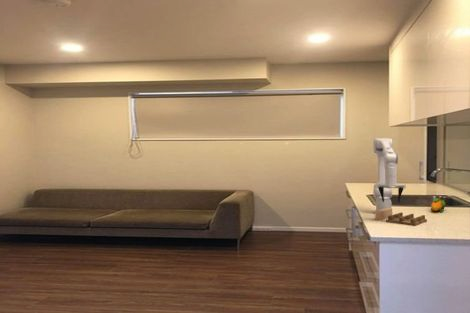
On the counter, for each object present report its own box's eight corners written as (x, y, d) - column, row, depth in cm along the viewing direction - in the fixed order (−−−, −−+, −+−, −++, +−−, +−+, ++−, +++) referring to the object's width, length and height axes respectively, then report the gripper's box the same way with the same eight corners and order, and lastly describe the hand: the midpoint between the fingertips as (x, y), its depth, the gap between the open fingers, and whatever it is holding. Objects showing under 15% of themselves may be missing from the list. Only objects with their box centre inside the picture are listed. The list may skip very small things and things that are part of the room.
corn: (446, 197, 266) (441, 201, 250) (446, 209, 267) (442, 214, 250) (432, 197, 270) (427, 201, 254) (433, 209, 271) (428, 214, 254)
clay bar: (386, 216, 245) (387, 207, 245) (392, 217, 243) (392, 208, 242) (375, 220, 235) (375, 211, 235) (380, 220, 233) (380, 211, 232)
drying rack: (399, 217, 240) (399, 212, 240) (426, 221, 229) (426, 215, 229) (386, 222, 228) (386, 216, 228) (414, 226, 218) (414, 219, 218)
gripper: (375, 176, 228) (376, 201, 227) (405, 176, 223) (405, 202, 222) (376, 176, 234) (376, 201, 234) (405, 176, 229) (405, 202, 229)
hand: (390, 202), depth 228 cm, fingers open, 7 cm apart
